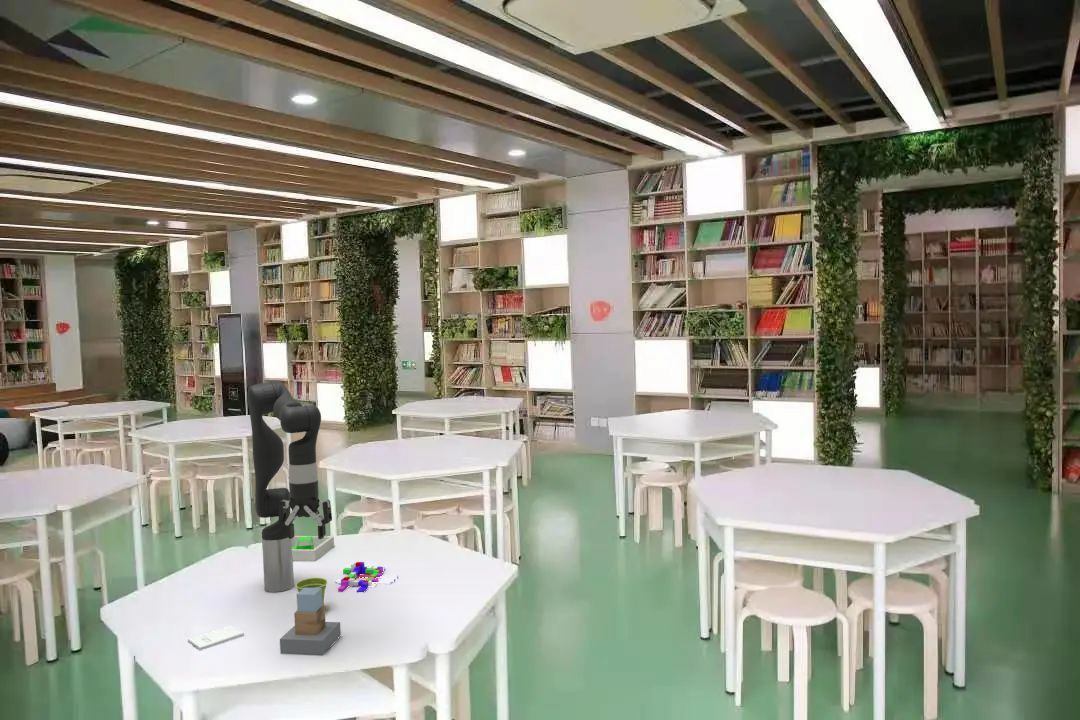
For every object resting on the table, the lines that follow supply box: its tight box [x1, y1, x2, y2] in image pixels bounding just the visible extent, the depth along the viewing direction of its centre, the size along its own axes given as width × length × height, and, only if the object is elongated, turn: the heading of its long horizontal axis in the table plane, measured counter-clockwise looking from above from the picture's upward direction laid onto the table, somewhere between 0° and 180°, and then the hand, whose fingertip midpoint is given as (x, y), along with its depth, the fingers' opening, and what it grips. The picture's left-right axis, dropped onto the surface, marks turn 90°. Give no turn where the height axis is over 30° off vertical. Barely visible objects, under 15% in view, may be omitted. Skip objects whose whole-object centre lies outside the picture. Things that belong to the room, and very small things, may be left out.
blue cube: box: [296, 588, 324, 613], centre depth 211 cm, size 5×5×5 cm
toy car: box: [292, 535, 315, 550], centre depth 289 cm, size 11×7×7 cm, turn 100°
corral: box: [291, 535, 335, 562], centre depth 292 cm, size 17×17×4 cm
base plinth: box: [279, 621, 342, 656], centre depth 211 cm, size 12×12×4 cm
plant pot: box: [295, 577, 328, 605], centre depth 235 cm, size 9×9×9 cm
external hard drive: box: [187, 624, 245, 651], centre depth 217 cm, size 2×8×12 cm
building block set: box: [334, 561, 384, 593], centre depth 262 cm, size 25×20×4 cm
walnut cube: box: [293, 604, 326, 635], centre depth 211 cm, size 6×6×6 cm
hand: (306, 538), depth 209 cm, fingers open, 8 cm apart
